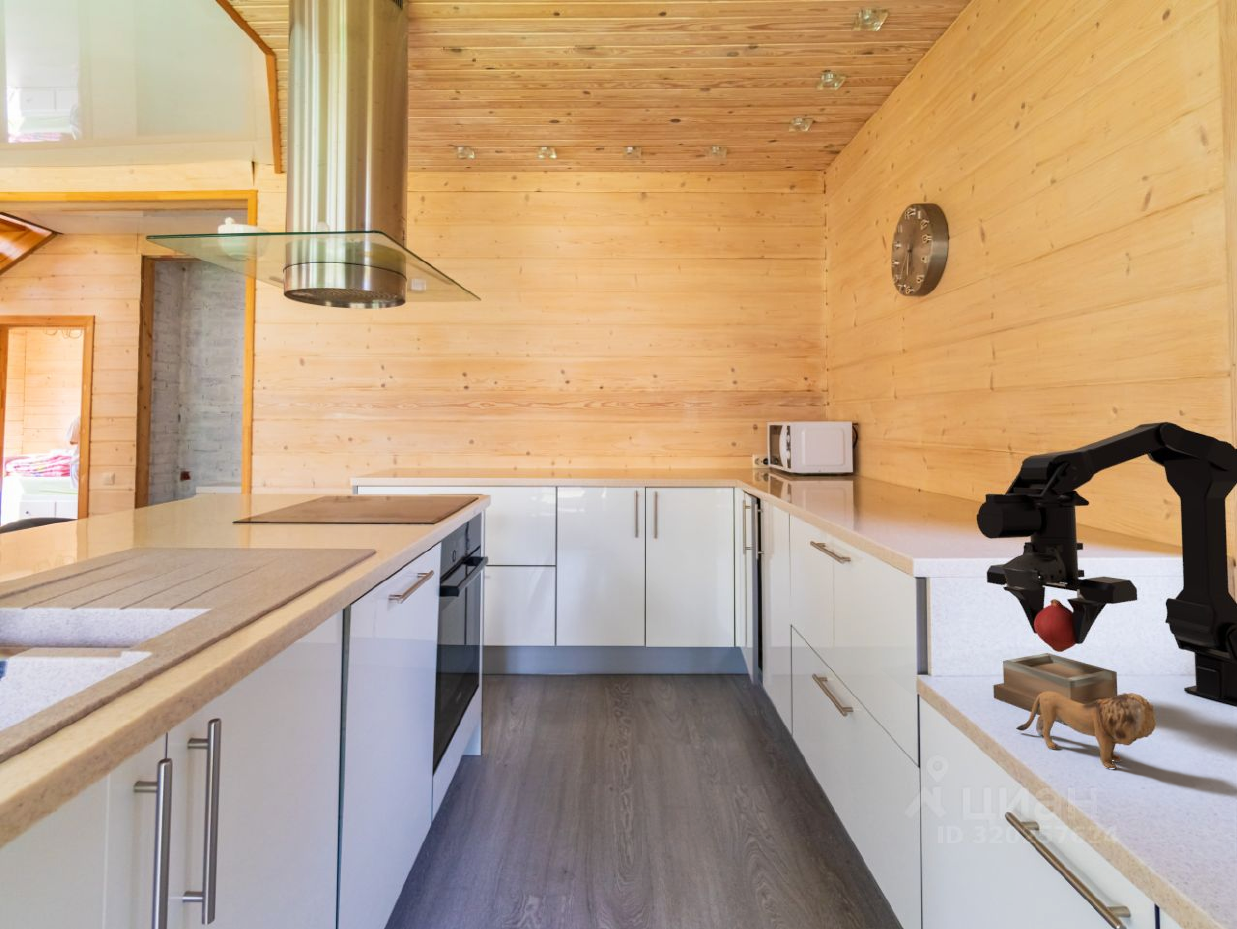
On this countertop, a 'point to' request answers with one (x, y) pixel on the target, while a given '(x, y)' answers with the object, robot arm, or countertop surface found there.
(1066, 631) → the onion
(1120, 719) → the lion figurine
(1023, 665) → the wooden tray on base
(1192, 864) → the countertop surface
